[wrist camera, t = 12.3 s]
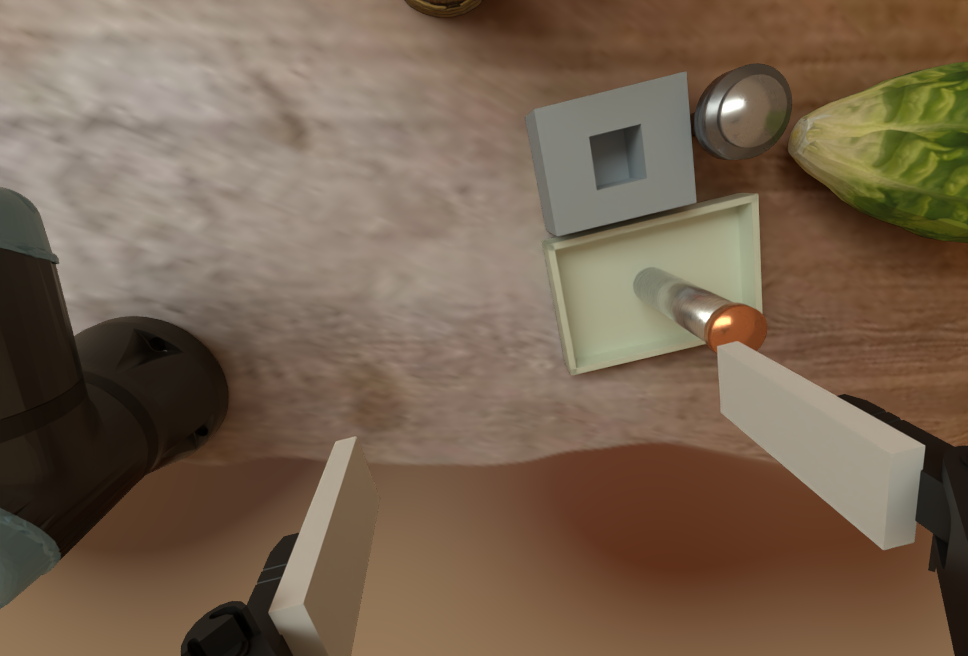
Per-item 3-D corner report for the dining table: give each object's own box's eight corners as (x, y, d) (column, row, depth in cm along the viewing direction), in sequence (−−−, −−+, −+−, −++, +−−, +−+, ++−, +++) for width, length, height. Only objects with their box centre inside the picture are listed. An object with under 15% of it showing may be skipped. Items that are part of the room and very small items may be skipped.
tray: (565, 364, 48) (571, 375, 45) (541, 240, 43) (546, 244, 41) (746, 321, 47) (762, 330, 45) (739, 192, 43) (758, 193, 40)
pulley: (665, 169, 42) (713, 167, 34) (657, 94, 40) (707, 73, 32) (733, 152, 42) (798, 147, 34) (729, 76, 40) (797, 51, 32)
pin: (633, 306, 45) (713, 365, 31) (628, 269, 44) (709, 314, 30) (670, 297, 45) (767, 353, 31) (667, 260, 44) (766, 300, 30)
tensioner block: (545, 229, 43) (556, 236, 38) (524, 117, 40) (534, 109, 35) (670, 199, 43) (696, 202, 38) (659, 83, 40) (686, 71, 35)
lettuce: (774, 76, 44) (870, 0, 31) (1044, 102, 42) (1270, 31, 29) (740, 224, 46) (815, 211, 33) (993, 258, 44) (1181, 257, 31)
